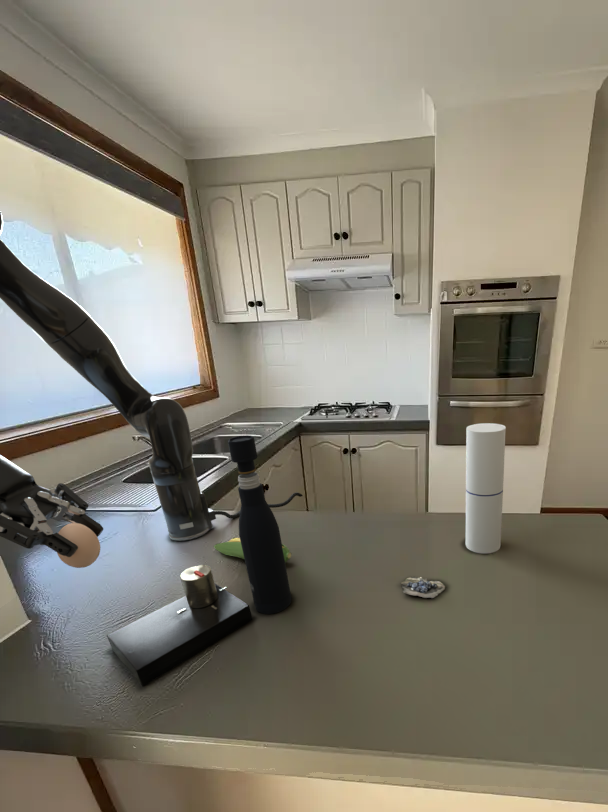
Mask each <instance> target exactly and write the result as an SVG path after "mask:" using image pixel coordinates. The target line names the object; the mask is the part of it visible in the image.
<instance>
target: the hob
mask: <svg viewBox="0 0 608 812" xmlns="http://www.w3.org/2000/svg"><path fill="white" fill-rule="evenodd" d="M214 583H215V587H216V591H217V594H218V597H217V599H216V601H215V602H213V603H212V604H210V605H208V606H206V607H202V608H192V607H190V606H189V605H188V601H187V598H186V595H185V596H182V597H180V598H178V599H176V600H174V601H172V602H169V603H168V604H166V605H164V606H162V607H160V608H158V609H156V610H154V611H151V612H150V613H148V614H146V615H144V616H142V617H140V618H138V619H136V620H134V621H133V622H130V623H128V624H126V625H124V626H122V627H120V628H118V629H116V630H114V631H112V632H111V633H109V634H106V638H107V639H108V643H109V645H110V647H111V650H112V651H113V653H114V654H115V655H116V656H117V658H118V659H119V660H120V661H121V662H122V664H123V665H124V666H125V668H126V669H127V670H128V671H129V672H130V673H131V675H132V676H133V677H134V678H135V680H136V681H137V683H139V684H140V686H141V687H144V686H147V685H148V684H150V683H151V682H153V681H154V680H156V679H158V678H159V677H161V676H163V675H164V674H166V673H168V672H170V671H171V670H172V669H174V668H176V667H177V666H179V665H181V664H182V663H184V662H186V661H188V660H189V659H190V658H192V657H194V656H195V655H197V654H199V653H200V652H202V651H203V650H205V649H207V648H209V647H210V646H212V645H213V644H215V643H217V642H219V641H220V640H222V639H223V638H225V637H227V636H228V635H230V634H232V633H233V632H234V631H237V630H239V629H240V628H241V627H243V626H244V625H247V624H248V623H250V622H251V621H253V617H252V612H251V608H250V604H248V603H246V602H245V601H244V600H242V599H240V598H239V597H237V596H236V595H234V594H233V593H231V592H229V591H228V590H227V589H228V586H224V587H222V586H220V585H219V584H217V583H216V582H214Z"/></svg>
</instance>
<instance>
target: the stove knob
mask: <svg viewBox="0 0 608 812" xmlns="http://www.w3.org/2000/svg"><path fill="white" fill-rule="evenodd" d="M179 576H180V577H179V578H180V581H181V584H182V585H181V586H182V587H183V588H182V589H183V591H184V594H185V596H186V598H187V601H188V605H189V606H190V607H192V608H202V607H206V606H208V605H210V604H212V603H213V602H215V601H216V599H217V597H218V594H217V591H216V587H215V583H216V582H215V579H214V575H213V571H212V567H210V566H209V565H206V564H198V565H194V566H190V567H188V568H186V569H185V570H184V571H182V572H181V573H180V575H179Z"/></svg>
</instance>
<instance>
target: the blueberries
mask: <svg viewBox="0 0 608 812" xmlns="http://www.w3.org/2000/svg"><path fill="white" fill-rule="evenodd" d="M400 585H401V586H400V587H401V588H402V589H403V590H402V593H403V594H405V595H410V596H418V597H422V598H424V599H427V598H431V599H434V598H436V597H438V596H439V594H441V593H442V592H443V591H445V590H446V586H445V585H444V583H442V582H441V581H439V580H432V579H431V580H427V578H423V577H422V576H420V577H418V576H417V577H416V576H410V577H407V578H406V579H404V580H403V581H401V582H400Z"/></svg>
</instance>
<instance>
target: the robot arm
mask: <svg viewBox="0 0 608 812" xmlns="http://www.w3.org/2000/svg"><path fill="white" fill-rule="evenodd" d="M3 227H4V220H3V215H2V211H1V210H0V235H1V234H2V232H3ZM0 299H1V301H2V302H3V303H5V305H6V306H7V307H8V308H9V309H10V310H12V312H13V313H14V314H15V315H16V316H17V317H19V318H20V320H22V322H23V323H25V324H26V325H27V326H28V327H29V328H30V329H31V330H32V331H33V332H34V333H35V334H36V335H37V336H38V337H39V338H40V339H41V340H42V341H43V342H44V343H45V344H47V346H48V347H49V348H50V349H52V351H54V352H55V353H56V354H57V356H59V357H60V358H61V359H62V360H63V361H65V362H66V364H67V365H69V366H70V367H71V368H73V369H74V370H75V371H76V372H77V373H78V374H79V375H80V376H81V377H82V378H83V379H85V380H86V381H87V382H88V383H89V384H91V386H93V387H94V389H96V390H97V391H98V392H99V393H101V394H102V395H103V396H104V397H105V398H106V399H107V401H109V402H110V403H111V404H112V405H113V406H114V408H115V409H116V411H118V412H119V414H120V415H121V416H122V417H123V418H124V419H125V420H126V422H127V423H128V424H129V425H130V426H131V428H132V429H134V431H136V432H137V433H138V434H140V435H141V436H144V437H146V438H149V441H150V445H151V451H152V456H150V457H149V459H148V461H147V462H148V467H149V470H150V473H151V477H152V480H153V483H154V487H155V490H156V493H157V497H158V500H159V503H160V508H161V510H162V511H161V512H162V514H163V517H164V521H165V524H166V528H167V532H168V536H169V538H170V540H172V541H176V542H183V541H190V540H195V539H197V538H200V537H201V536H204V535H206V534H207V533H209V531H210V530H212V529H214V527H213V522H212V521H215V520H216V519H217V516H219V515H220V516H224V517H226V518H228V519H236V518H239V516H240V510H238V511H237V512H236V513H234V514H230V513H228V512H227V511H223V510H214V509H212V508H209V507H208V503H207V499H206V495H205V493H204V492H202V491H201V488H200V484H199V480H198V477H197V473H196V469H195V464H194V460H193V454H194V446H193V439H192V435H191V430H190V424H189V421H188V417H187V414H186V412H185V410H184V408H183V407H182V405H181V404H180V403H179V402H177V401H176V400H175V399H173V398H169V397H159V396H155V395H153V394H152V392H151V393H150V391H149V390H147V389H146V388H145V387H144V386H143V385H142V384H141V383H140V382H139V381H138V380H137V379H136V378H135V377H134V376H133V375H132V373H131V372H130V371H129V369H128V368H127V366H126V365H125V363H124V361H123V359H122V357H121V355H120V353H119V350H118V349H117V347H116V345H115V343H114V342H113V341H112V339H111V338H110V336H109V335H108V334H107V333H106V332H105V331H104V329H103V328H102V327H101V326H100V324H98V323H97V322H96V321H95V320H94V319H93V317H91V315H90V314H89V313H88V312H87V311H86V310H85V309H84V308H83V307H82V306H81V305H79V304H78V303H77V302H76V301H75V300H73V299H72V298H71V297H69V296H68V295H66V294H65V293H64V292H62V291H61V290H59V289H58V288H57V287H55V286H54V285H52V284H50V283H49V282H48V281H46V280H44V279H43V278H42V277H40V276H39V275H37V274H36V273H35V272H34V271H32V270H31V269H30V268H29V267H28V266H26V265H25V264H24V263H23V262H22V261H21V259H20V258H18V257H17V255H15V253H14V252H13V251H12V250H11V249H10V248H9V247H8V246H7V244H6V243H5V242H4V241H3V240H2V239H1V238H0ZM295 497H299V498H300V497H304V496H303V494H302V493H300V492H297V491H296V492H293V493H292V494H291V495H290V496H289V497H288V498H287V499H286V500H284V501H283V502H280V503H267V504H268V505H269V507H270V509H272V508H273V509H274V508H275V509H276V508H282V507H284V506H287V505H288V504H290V503H291V501H292V500H293V499H294V498H295ZM59 508H60V510H59V511H58V509H59ZM87 509H89V503H88V502H86V501H85V500H84V499H82V498H81V497H80V496H79V495H78V494H77V493H76V492H75V491H73V490H72V489H71V488H70V487H69V486H67V485H66V484H65V483H62V482H59V483H58V484H57V485H56V487H53V488H50V489H49V488H48V487H47V488H46V487H44V486H41V485H39V484H37V482H36V480H35V477H34V476H33V475H32V474H30V473H29V472H27V471H26V470H24V469H23V468H21V467H20V466H18V465H17V464H16V463H13V462H12V461H11V460H9V459H7V458H6V457H5V456H3V455H1V454H0V537H1V538H3V539H6V540H7V541H10V542H12V543H14V544H16V545H19V546H21V547H23V548H25V549H28V550H30V549H33V548H34V547H35V546H46V547H48V548H49V549H51V550H52V551H55V552H56V553H57V552H58V553H59V554H60V555H63V556H67V557H71V556H72V555H74V553H75V552H76V550H77V549H78V546H77V545H76V544H74V543H72V542H71V541H69V540H68V539H66V538H64V537H63V536H61V535H60V534H58V532H55V533H54V531H53V529H52V528H51V527H50V525H49V524H48V520H53V521H56V522H60V521H64V522H67V523H69V524H70V523H79V524H82V525H85V526H86V527H88V528H89V529H91V530H92V531H93V532H94V533H95V534H96V536H97V537H98V538H99V536H100V535H101V534H102V533H103V531H104V527H103V526H102V525H101V523H100V522H98V521H96V520H95V519H94V518H92V517H90V516H89V515H87V514H86V511H87ZM68 513H70V514H68ZM72 514H73V515H72Z"/></svg>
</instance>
